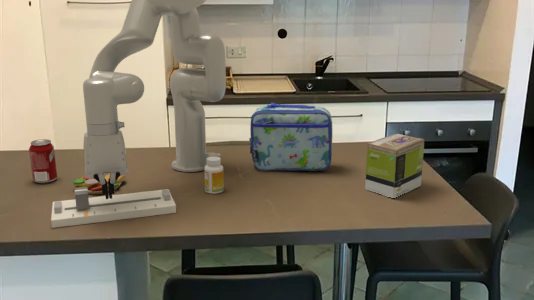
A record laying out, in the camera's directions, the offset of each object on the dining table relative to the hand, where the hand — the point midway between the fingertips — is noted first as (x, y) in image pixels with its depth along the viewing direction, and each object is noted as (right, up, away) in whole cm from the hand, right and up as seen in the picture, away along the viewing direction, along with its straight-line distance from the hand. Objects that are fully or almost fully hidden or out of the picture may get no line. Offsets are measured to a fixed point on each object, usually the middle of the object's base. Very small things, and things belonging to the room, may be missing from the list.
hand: (108, 196), depth 138 cm
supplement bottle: (+26, 0, +16) cm, 30 cm away
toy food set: (-8, +1, +18) cm, 20 cm away
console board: (+1, -4, +1) cm, 4 cm away
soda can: (-25, +3, +22) cm, 34 cm away
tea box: (+77, +1, +19) cm, 80 cm away
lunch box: (+48, +6, +35) cm, 60 cm away
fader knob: (-6, -2, -2) cm, 7 cm away
